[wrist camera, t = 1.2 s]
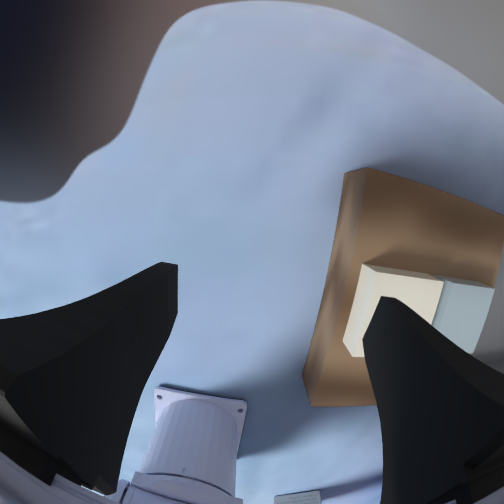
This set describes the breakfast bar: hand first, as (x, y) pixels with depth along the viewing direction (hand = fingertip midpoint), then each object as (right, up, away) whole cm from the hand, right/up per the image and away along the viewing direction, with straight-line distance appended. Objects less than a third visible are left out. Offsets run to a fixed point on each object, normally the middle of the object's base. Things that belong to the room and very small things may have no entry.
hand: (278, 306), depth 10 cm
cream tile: (+8, -2, +7) cm, 10 cm away
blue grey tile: (+13, -2, +7) cm, 15 cm away
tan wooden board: (+11, -1, +11) cm, 16 cm away
